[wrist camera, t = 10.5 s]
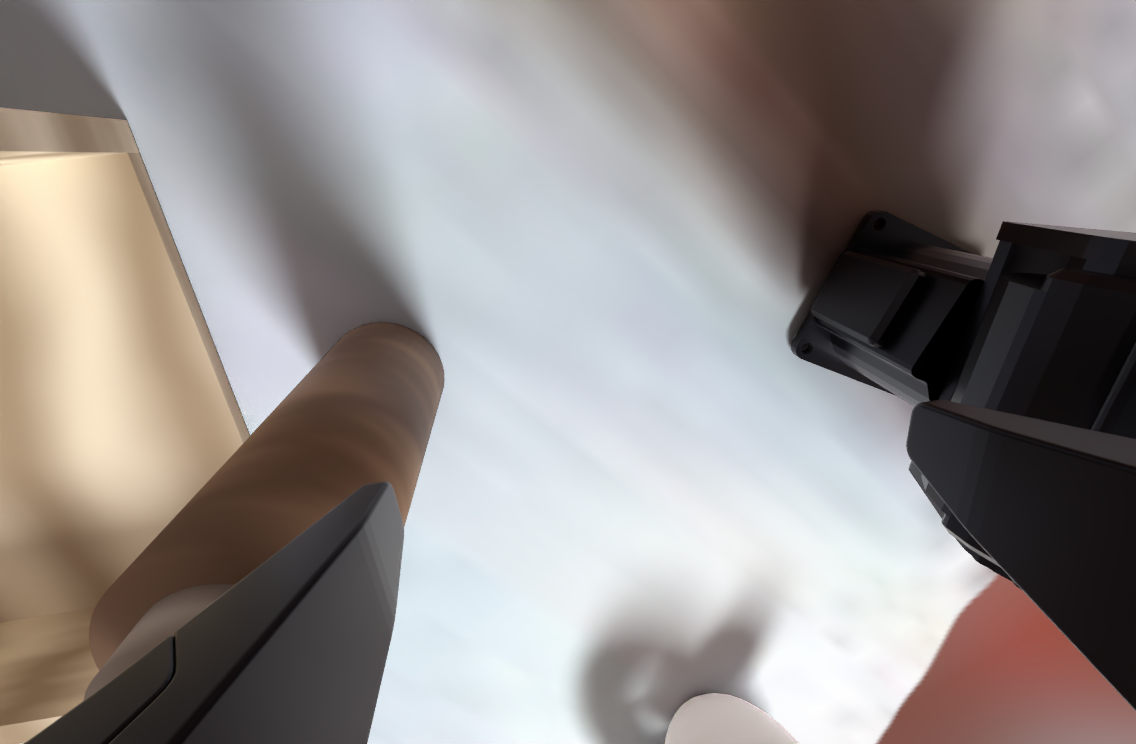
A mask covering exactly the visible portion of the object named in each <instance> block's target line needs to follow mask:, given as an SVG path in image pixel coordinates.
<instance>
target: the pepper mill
mask: <svg viewBox="0 0 1136 744" xmlns="http://www.w3.org/2000/svg"><path fill="white" fill-rule="evenodd" d="M443 387H444V370H443V366H442V363H441V360H440V358H439V356H438V354H437V352H436V351H435V349H434V348H433V347H432V345H431V344H430V343H429V342H428V341H427V340H426V339H425V338H424V337H422V336H421V335H420V334H418V333H417V332H415V331H413V330H411V329H409V328H407V327H404V326H401V325H398V324H393V323H385V322H377V323H369V324H365V325H362V326H359V327H356V328H355V329H353V330H351V331H349V332H348V333H347V334H345V335H344V336H343V337H342V338H341V339H340V340H339V341H338V342H337V343H336V344H335V345H334V346H333V347H332V348H331V349H330V351H329V352H328V353H327V354H326V355H325V356H324V357H323V358H322V359H321V360H320V361H319V362H318V363H317V365H316V366H315V367H314V368H313V369H312V370H311V371H310V372H309V373H308V374H307V375H306V376H305V377H304V379H303V380H302V381H301V382H300V383H299V384H298V385H297V386H296V387H295V388H294V389H293V390H292V391H291V392H290V394H289V395H288V396H287V397H286V398H285V399H284V400H283V401H282V402H281V403H280V404H279V405H278V406H277V408H276V409H275V410H274V411H273V412H272V413H271V414H270V415H269V416H268V417H267V418H266V419H265V420H264V422H263V423H262V424H261V425H260V426H259V427H258V428H257V429H256V430H255V431H254V432H253V433H252V434H251V436H250V437H249V438H248V439H247V440H246V441H245V442H244V443H243V444H242V445H241V446H240V447H239V448H238V450H237V451H236V452H235V453H234V454H233V455H232V456H231V457H230V458H229V459H228V460H227V461H226V462H225V464H224V465H223V466H222V467H221V468H220V469H219V470H218V471H217V472H216V473H215V474H214V475H213V476H212V478H211V479H210V480H209V481H208V482H207V483H206V484H205V485H204V486H203V487H202V488H201V489H200V490H199V492H198V493H197V494H196V495H195V496H194V497H193V498H192V499H191V500H190V501H189V502H188V503H187V504H186V506H185V507H184V508H183V509H182V510H181V511H180V512H179V513H178V514H177V515H176V516H175V517H174V518H173V520H172V521H171V522H170V523H169V524H168V525H167V526H166V527H165V528H164V529H163V530H162V531H161V532H160V533H159V535H158V536H157V537H156V538H155V539H154V540H153V541H152V542H151V543H150V544H149V545H148V546H147V547H146V549H145V550H144V551H143V552H142V553H141V554H140V555H139V556H138V557H137V558H136V559H135V560H134V561H133V563H132V564H131V565H130V566H129V567H128V568H127V569H126V570H125V571H124V572H123V573H122V574H121V575H120V577H119V578H118V579H117V580H116V581H115V582H114V583H113V584H112V585H111V586H110V587H109V588H108V589H107V591H106V592H105V593H104V594H103V596H102V597H101V599H100V600H99V601H98V603H97V605H96V607H95V609H94V612H93V614H92V617H91V621H90V626H89V643H90V649H91V654H92V656H93V659H94V661H95V664H96V666H97V668H98V669H99V672H98V673H97V674H96V676H95V677H94V678H93V680H92V681H91V682H90V684H89V686H88V688H87V690H86V692H85V696H84V700H85V699H87V698H88V697H90V696H91V695H92V694H94V693H95V692H97V691H98V690H99V689H101V688H102V687H103V686H104V685H106V684H107V683H108V682H110V681H111V680H112V679H114V678H115V677H116V676H118V675H119V674H120V673H122V672H123V671H124V670H126V669H127V668H128V667H130V666H131V665H132V664H134V663H135V662H136V661H138V660H139V659H140V658H142V657H143V656H144V655H145V654H147V653H148V652H149V651H150V650H152V649H153V648H154V647H156V646H157V645H158V644H159V643H161V642H162V641H163V640H164V639H166V638H167V637H169V636H174V634H175V631H176V630H178V629H179V628H180V627H181V626H183V625H184V624H185V623H187V622H188V621H189V620H190V619H192V618H193V617H194V616H196V615H197V614H198V613H200V612H201V611H202V610H203V609H205V608H206V607H207V606H209V605H210V604H211V603H212V602H214V601H215V600H216V599H218V598H219V597H220V596H221V595H223V594H224V593H225V592H227V591H228V590H229V589H230V588H232V587H233V586H234V585H236V584H237V583H238V582H239V581H241V580H242V579H243V578H245V577H246V576H247V575H248V574H250V573H251V572H252V571H254V570H255V569H256V568H257V567H259V566H260V565H261V564H263V563H264V562H265V561H266V560H268V559H269V558H270V557H272V556H273V555H274V554H275V553H277V552H278V551H279V550H281V549H282V548H283V547H284V546H286V545H287V544H288V543H290V542H291V541H292V540H293V539H295V538H296V537H297V536H299V535H300V534H301V533H303V532H304V531H305V530H306V529H308V528H309V527H310V526H312V525H313V524H314V523H315V522H317V521H318V520H319V519H321V518H322V517H323V516H324V515H326V514H327V513H328V512H330V511H331V510H332V509H333V508H335V507H336V506H337V505H339V504H340V503H341V502H342V501H344V500H345V499H346V498H348V497H349V496H350V495H351V494H353V493H354V492H355V491H357V490H358V489H359V488H360V487H362V486H363V485H366V484H372V483H378V482H389V483H390V484H391V485H392V487H393V489H394V492H395V496H396V499H397V503H398V506H399V510H400V513H401V517H402V521H403V526H405V522H406V519H407V515H408V512H409V508H410V505H411V501H412V497H413V494H414V490H415V487H416V483H417V480H418V476H419V473H420V469H421V466H422V462H423V458H424V455H425V451H426V448H427V444H428V441H429V437H430V434H431V430H432V426H433V423H434V419H435V416H436V412H437V409H438V405H439V402H440V398H441V395H442V391H443ZM84 700H83V701H84Z"/></svg>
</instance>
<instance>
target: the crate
mask: <svg viewBox="0 0 1136 744" xmlns="http://www.w3.org/2000/svg"><path fill="white" fill-rule="evenodd" d="M249 437H250V435H249V433H248V430H247V428H246V425H245V422H244V420H243V417H242V415H241V412H240V410H239V407H238V404H237V402H236V399H235V397H234V394H233V392H232V389H231V387H230V384H229V381H228V379H227V376H226V374H225V371H224V369H223V366H222V363H221V361H220V358H219V356H218V353H217V351H216V348H215V345H214V343H213V340H212V338H211V335H210V333H209V330H208V328H207V325H206V322H205V320H204V317H203V315H202V312H201V310H200V307H199V304H198V302H197V299H196V297H195V294H194V292H193V289H192V287H191V284H190V281H189V279H188V276H187V274H186V271H185V269H184V266H183V263H182V261H181V258H180V256H179V253H178V251H177V248H176V245H175V243H174V240H173V238H172V235H171V233H170V230H169V228H168V225H167V222H166V220H165V217H164V215H163V212H162V210H161V207H160V204H159V202H158V199H157V197H156V194H155V192H154V189H153V187H152V184H151V181H150V179H149V176H148V174H147V171H146V169H145V166H144V163H143V161H142V158H141V156H140V153H139V151H138V148H137V145H136V143H135V140H134V138H133V135H132V133H131V130H130V128H129V125H128V122H127V120H121V119H111V118H101V117H91V116H81V115H71V114H61V113H51V112H41V111H30V110H20V109H10V108H0V744H20V743H25V742H27V741H28V740H29V739H31V738H32V737H34V736H35V735H37V734H38V733H39V732H41V731H42V730H44V729H45V728H46V727H48V726H49V725H51V724H52V723H53V722H55V721H56V720H58V719H59V718H60V717H62V716H63V715H65V714H66V713H67V712H69V711H70V710H72V709H73V708H74V707H76V706H77V705H78V704H80V703H81V702H83V700H84V696H85V692H86V690H87V688H88V686H89V684H90V682H91V681H92V680H93V678H94V677H95V676H96V674H97V673H98V672H99V669H98V668H97V666H96V664H95V661H94V659H93V656H92V654H91V649H90V643H89V626H90V621H91V617H92V614H93V612H94V609H95V607H96V605H97V603H98V601H99V600H100V599H101V597H102V596H103V594H104V593H105V592H106V591H107V589H108V588H109V587H110V586H111V585H112V584H113V583H114V582H115V581H116V580H117V579H118V578H119V577H120V575H121V574H122V573H123V572H124V571H125V570H126V569H127V568H128V567H129V566H130V565H131V564H132V563H133V561H134V560H135V559H136V558H137V557H138V556H139V555H140V554H141V553H142V552H143V551H144V550H145V549H146V547H147V546H148V545H149V544H150V543H151V542H152V541H153V540H154V539H155V538H156V537H157V536H158V535H159V533H160V532H161V531H162V530H163V529H164V528H165V527H166V526H167V525H168V524H169V523H170V522H171V521H172V520H173V518H174V517H175V516H176V515H177V514H178V513H179V512H180V511H181V510H182V509H183V508H184V507H185V506H186V504H187V503H188V502H189V501H190V500H191V499H192V498H193V497H194V496H195V495H196V494H197V493H198V492H199V490H200V489H201V488H202V487H203V486H204V485H205V484H206V483H207V482H208V481H209V480H210V479H211V478H212V476H213V475H214V474H215V473H216V472H217V471H218V470H219V469H220V468H221V467H222V466H223V465H224V464H225V462H226V461H227V460H228V459H229V458H230V457H231V456H232V455H233V454H234V453H235V452H236V451H237V450H238V448H239V447H240V446H241V445H242V444H243V443H244V442H245V441H246V440H247V439H248V438H249Z"/></svg>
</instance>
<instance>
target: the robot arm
mask: <svg viewBox="0 0 1136 744" xmlns="http://www.w3.org/2000/svg"><path fill="white" fill-rule="evenodd" d="M876 219H879V224H878V226H877V227H876V228H875V229H874V227H873V224H874V222H875V221H876ZM996 239H997V240H1000V242H999V244H998V247H997V250H996V252H995V255H994V257H993V258H989V257H984V256H979V255H975V254H971V253H969V252H967V251H965V250H963V249H961V248H959V247H957V246H955V245H953V244H951V243H949V242H947V241H945V240H943V239H941V238H939V237H937V236H935V235H933V234H931V233H929V232H927V231H924V230H922V229H920V228H918V227H916V226H914V225H912V224H910V223H908V222H906V221H904V220H902V219H900V218H898V217H896V216H894V215H892V214H890V213H888V212H884V211H878V210H874V211H871V212H869V213H868V214H866V215H865V217H864V218H863V220H862V221H861V223H860V225H859V227H858V228H857V230H856V232H855V234H854V235H853V237H852V239H851V241H850V242H849V244H848V246H847V248H846V249H845V251H844V253H843V254H841V255H840V257H839V259H838V261H837V262H836V264H835V266H834V268H833V269H832V271H831V273H830V275H829V276H828V278H827V280H826V282H825V283H824V285H823V287H822V289H821V290H820V292H819V294H818V296H817V297H816V299H815V301H814V303H813V304H812V306H811V311H810V312H809V314H808V316H807V318H806V319H805V321H804V323H803V325H802V326H801V328H800V330H799V332H798V333H797V335H796V337H795V339H794V340H793V342H792V345H791V350H792V352H793V354H795V355H796V356H798V357H799V358H801V359H803V360H806V361H808V362H811V363H813V364H816V365H819V366H821V367H824V368H826V369H829V370H832V371H834V372H837V373H839V374H842V375H844V376H847V377H850V378H852V379H855V380H857V381H860V382H863V383H865V384H868V385H870V386H873V387H875V388H878V389H881V390H883V391H886V392H888V393H891V394H894V395H896V396H898V397H900V398H901V399H903V400H905V401H906V402H908V403H910V404H911V405H913V406H915V407H914V408H913V410H912V414H911V420H910V426H909V431H908V437H907V444H906V447H907V452H908V455H909V457H910V459H911V460H912V461H911V464H910V466H909V471H910V472H911V474H912V475H913V477H914V478H915V480H916V481H917V483H918V484H919V486H920V487H921V489H922V490H923V491H924V493H925V494H926V496H927V497H928V499H929V500H930V502H931V503H932V505H933V506H934V508H935V509H936V511H937V512H938V513H939V515H940V516H941V518H942V524H943V525H944V527H945V528H946V529H947V531H948V532H949V533H950V534H951V535H952V536H954V537H955V538H956V540H957V541H958V542H959V543H960V544H961V546H962V547H963V548H964V549H965V550H966V551H967V552H968V553H969V554H971V555H972V556H973V558H974V559H975V560H976V561H977V562H979V563H980V564H982V565H984V566H986V567H988V568H990V569H991V570H992V571H994V572H996V573H997V574H999V575H1001V576H1003V577H1005V578H1007V579H1009V580H1010V581H1012V582H1013V583H1014V584H1015V585H1016V586H1017V587H1018V588H1020V589H1021V590H1023V591H1024V592H1025V593H1026V595H1027V596H1028V597H1029V598H1030V599H1031V600H1032V601H1033V602H1034V603H1035V604H1036V605H1037V606H1038V607H1039V608H1040V609H1041V611H1042V612H1043V613H1044V614H1045V615H1046V616H1047V617H1048V618H1049V619H1050V620H1051V621H1052V622H1053V623H1054V624H1055V625H1056V627H1057V628H1058V629H1059V630H1060V631H1061V632H1062V633H1063V634H1064V635H1065V636H1066V637H1067V638H1068V639H1069V640H1070V641H1071V643H1073V645H1074V646H1075V647H1076V648H1077V649H1078V650H1079V651H1080V652H1081V653H1082V654H1083V655H1084V656H1085V657H1086V659H1087V660H1089V662H1090V663H1091V664H1092V665H1093V666H1094V667H1095V668H1096V669H1097V670H1098V671H1099V672H1100V673H1101V675H1102V676H1103V677H1104V678H1105V679H1106V680H1107V681H1108V682H1109V683H1110V684H1111V685H1112V686H1113V687H1114V688H1115V689H1116V690H1117V691H1118V693H1119V694H1120V695H1121V696H1122V697H1123V698H1124V699H1125V700H1126V701H1127V702H1128V703H1129V704H1130V705H1131V707H1132V708H1133V709H1134V710H1135V711H1136V233H1130V232H1118V231H1107V230H1096V229H1084V228H1073V227H1062V226H1050V225H1039V224H1028V223H1016V222H1005V221H1003V222H1002V225H1001V228H1000V230H999V233H998V236H997V238H996ZM806 343H808V346H807V348H806V349H805V350H803V351H802V350H801V349H802V346H803V345H804V344H806ZM403 540H404V526H403V521H402V517H401V513H400V510H399V506H398V503H397V499H396V496H395V492H394V489H393V487H392V485H391V484H390V483H389V482H378V483H372V484H366V485H363V486H362V487H360V488H359V489H358V490H357V491H355V492H354V493H353V494H351V495H350V496H349V497H348V498H346V499H345V500H344V501H342V502H341V503H340V504H339V505H337V506H336V507H335V508H333V509H332V510H331V511H330V512H328V513H327V514H326V515H324V516H323V517H322V518H321V519H319V520H318V521H317V522H315V523H314V524H313V525H312V526H310V527H309V528H308V529H306V530H305V531H304V532H303V533H301V534H300V535H299V536H297V537H296V538H295V539H293V540H292V541H291V542H290V543H288V544H287V545H286V546H284V547H283V548H282V549H281V550H279V551H278V552H277V553H275V554H274V555H273V556H272V557H270V558H269V559H268V560H266V561H265V562H264V563H263V564H261V565H260V566H259V567H257V568H256V569H255V570H254V571H252V572H251V573H250V574H248V575H247V576H246V577H245V578H243V579H242V580H241V581H239V582H238V583H237V584H236V585H234V586H233V587H232V588H230V589H229V590H228V591H227V592H225V593H224V594H223V595H221V596H220V597H219V598H218V599H216V600H215V601H214V602H212V603H211V604H210V605H209V606H207V607H206V608H205V609H203V610H202V611H201V612H200V613H198V614H197V615H196V616H194V617H193V618H192V619H190V620H189V621H188V622H187V623H185V624H184V625H183V626H181V627H180V628H179V629H178V630H176V631H175V634H174V636H169V637H167V638H166V639H164V640H163V641H162V642H161V643H159V644H158V645H157V646H156V647H154V648H153V649H152V650H150V651H149V652H148V653H147V654H145V655H144V656H143V657H142V658H140V659H139V660H138V661H136V662H135V663H134V664H132V665H131V666H130V667H128V668H127V669H126V670H124V671H123V672H122V673H120V674H119V675H118V676H116V677H115V678H114V679H112V680H111V681H110V682H108V683H107V684H106V685H104V686H103V687H102V688H101V689H99V690H98V691H97V692H95V693H94V694H92V695H91V696H90V697H88V698H87V699H85V700H84V701H83V702H81V703H80V704H78V705H77V706H76V707H74V708H73V709H72V710H70V711H69V712H67V713H66V714H65V715H63V716H62V717H60V718H59V719H58V720H56V721H55V722H53V723H52V724H51V725H49V726H48V727H46V728H45V729H44V730H42V731H41V732H39V733H38V734H37V735H35V736H34V737H32V738H31V739H29V740H28V741H27V742H25V743H24V744H367V742H368V738H369V733H370V729H371V724H372V720H373V716H374V711H375V707H376V702H377V698H378V694H379V689H380V685H381V681H382V676H383V672H384V667H385V663H386V659H387V654H388V650H389V646H390V641H391V637H392V632H393V627H394V621H395V614H396V606H397V597H398V587H399V578H400V569H401V559H402V550H403Z"/></svg>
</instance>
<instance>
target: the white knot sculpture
mask: <svg viewBox="0 0 1136 744" xmlns="http://www.w3.org/2000/svg"><path fill="white" fill-rule="evenodd" d="M665 744H800V743H799V742H798V741H797V740H796V739H795V738H794V737H793V736H792V735H791V734H790V733H789V732H788V731H787V730H786V729H785V728H784V727H783V726H782V725H781V724H779V723H778V722H777V721H776V720H774V719H773V718H772V717H771V716H769V715H768V714H767V713H766V712H764V711H763V710H761V709H760V708H758V707H756V706H754V705H753V704H751V703H749V702H747V701H746V700H743V699H740V698H737V697H735V696H732V695H729V694H719V693H709V694H704V695H700V696H696V697H693V698H691V699H690V700H688V701H687V702H685V703H684V704H683V705H682V706H681V707H680V708H679V709H678V711H677V712H676V713H675V715H674V717H673V719H672V721H671V723H670V725H669V728H668V731H667V734H666V739H665Z"/></svg>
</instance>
